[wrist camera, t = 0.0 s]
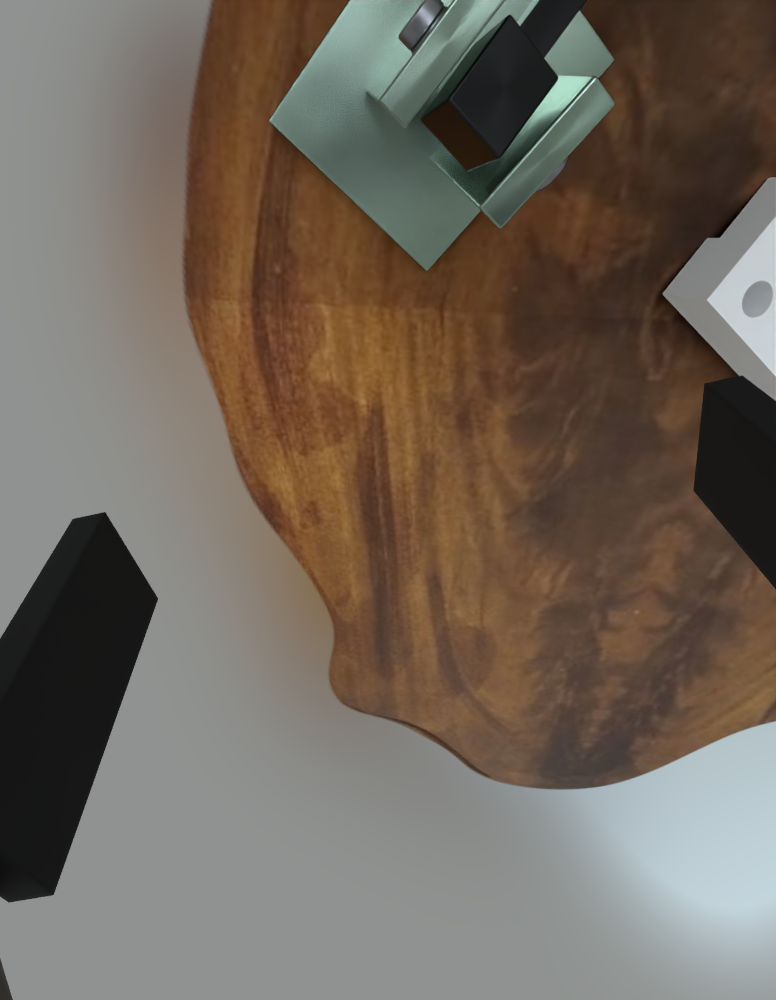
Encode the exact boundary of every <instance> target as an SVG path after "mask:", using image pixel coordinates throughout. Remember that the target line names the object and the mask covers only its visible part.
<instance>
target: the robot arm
mask: <svg viewBox="0 0 776 1000" xmlns="http://www.w3.org/2000/svg"><path fill="white" fill-rule="evenodd" d="M694 492H695V493H696V494H697V495H698V496H699V498H700V499H701V500H702V501H703V502H704V504H705V505H706V506H707V507H708V508H709V510H710V511H711V512H712V513H713V514H714V516H715V517H716V518H717V519H718V520H719V522H720V523H721V524H722V525H723V526H724V528H725V529H726V530H727V531H728V532H729V534H730V535H731V536H732V537H733V538H734V540H735V541H736V542H737V543H738V544H739V546H740V547H741V548H742V549H743V550H744V552H745V553H746V554H747V555H748V556H749V558H750V559H751V560H752V561H753V562H754V564H755V565H756V566H757V567H758V568H759V570H760V571H761V572H762V573H763V574H764V576H765V577H766V578H767V579H768V580H769V582H770V583H771V584H772V585H773V586H774V587H775V589H776V401H775V400H774V399H773V398H771V397H770V396H769V395H767V394H766V393H765V392H763V391H762V390H761V389H760V388H758V387H757V386H756V385H754V384H753V383H752V382H750V381H749V380H748V379H746V378H745V377H744V376H743V375H742V376H738V377H733V378H728V379H724V380H719V381H714V382H710V383H705V384H704V394H703V404H702V414H701V423H700V433H699V443H698V452H697V462H696V472H695V482H694ZM157 600H158V598H157V596H156V594H155V593H154V591H153V590H152V588H151V587H150V585H149V583H148V582H147V580H146V578H145V577H144V575H143V573H142V572H141V570H140V568H139V567H138V565H137V564H136V562H135V560H134V559H133V557H132V555H131V554H130V552H129V551H128V549H127V547H126V545H125V544H124V542H123V541H122V539H121V537H120V536H119V534H118V532H117V531H116V529H115V528H114V526H113V524H112V523H111V521H110V519H109V518H108V516H107V514H106V513H105V512H104V513H99V514H94V515H90V516H85V517H81V518H76V519H73V520H72V521H71V523H70V525H69V526H68V528H67V530H66V531H65V533H64V535H63V536H62V538H61V539H60V541H59V543H58V544H57V546H56V548H55V549H54V551H53V553H52V554H51V556H50V558H49V559H48V561H47V562H46V564H45V566H44V567H43V569H42V571H41V572H40V574H39V576H38V577H37V579H36V581H35V582H34V584H33V586H32V587H31V589H30V591H29V592H28V594H27V596H26V597H25V599H24V601H23V602H22V604H21V605H20V607H19V609H18V610H17V612H16V614H15V615H14V617H13V619H12V620H11V622H10V624H9V626H8V627H7V629H6V630H5V632H4V633H3V635H2V637H1V638H0V897H2V898H3V899H5V900H6V901H8V902H14V901H20V900H26V899H32V898H38V897H45V896H51V895H54V892H55V889H56V887H57V884H58V881H59V878H60V875H61V872H62V869H63V867H64V864H65V861H66V858H67V855H68V853H69V850H70V847H71V844H72V841H73V838H74V836H75V833H76V830H77V827H78V824H79V821H80V818H81V816H82V813H83V810H84V807H85V804H86V802H87V799H88V796H89V793H90V790H91V787H92V785H93V782H94V779H95V776H96V773H97V770H98V768H99V765H100V762H101V759H102V756H103V753H104V750H105V748H106V745H107V742H108V739H109V736H110V733H111V731H112V728H113V725H114V722H115V719H116V716H117V714H118V711H119V708H120V705H121V702H122V700H123V696H124V694H125V691H126V688H127V685H128V682H129V680H130V677H131V674H132V671H133V668H134V665H135V663H136V660H137V657H138V654H139V651H140V649H141V646H142V643H143V640H144V637H145V634H146V631H147V629H148V626H149V623H150V620H151V617H152V614H153V612H154V609H155V606H156V603H157ZM0 1000H13V999H12V996H11V993H10V990H9V986H8V983H7V980H6V976H5V973H4V970H3V967H2V963H1V960H0Z"/></svg>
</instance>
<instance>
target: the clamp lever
mask: <svg viewBox="0 0 776 1000" xmlns="http://www.w3.org/2000/svg"><path fill="white" fill-rule="evenodd" d="M586 1H587V0H533V1H532V2H531V3H530V5H529V6H528V8H527V9H526V10H525V12H524V13H523V15H522V16H521V17H520V19H519V20H518V21H517V22H516V21H515V19H514V18H513V17H512V16H511V15H508V16H506V17H505V18H504V19H503V20H502V21H500V22H499V23H498V24H497V25H496V26H495V27H493V28H492V29H491V30H490V31H489V32H488V33H486V34H485V35H484V36H483V37H482V38H481V39H479V40H478V41H477V42H476V43H475V44H474V45H473V46H472V47H471V49H470V50H469V52H468V53H467V54H466V56H465V57H464V58H463V60H462V61H461V63H460V64H459V65H458V67H457V68H456V70H455V71H454V72H453V74H452V75H451V76H450V78H449V79H448V81H447V82H446V83H445V85H444V86H443V88H442V89H441V90H440V92H439V93H438V94H437V96H436V97H435V99H434V100H433V101H432V103H431V104H430V106H429V107H428V108H427V110H426V111H425V113H424V114H423V115H422V117H421V121H422V123H423V124H424V125H425V126H426V127H427V128H428V129H429V130H430V131H431V132H432V134H433V135H434V136H435V137H436V138H437V139H438V140H439V141H440V142H441V143H442V144H443V146H444V147H445V148H446V149H447V150H448V151H449V152H450V153H451V154H452V155H453V156H454V158H455V159H456V160H457V161H458V162H459V163H460V164H461V165H462V166H463V167H464V168H465V170H467V171H470V170H472V169H475V168H477V167H480V166H482V165H484V164H487V163H489V162H492V161H494V160H497V159H499V158H501V156H502V155H503V154H504V152H505V151H506V150H507V148H508V147H509V146H510V144H511V143H512V142H513V140H514V139H515V138H516V136H517V135H518V134H519V132H520V131H521V129H522V128H523V127H524V125H525V124H526V123H527V121H528V120H529V119H530V117H531V116H532V115H533V113H534V112H535V111H536V109H537V108H538V107H539V105H540V104H541V103H542V101H543V100H544V98H545V97H546V96H547V94H548V93H549V92H550V90H551V89H552V88H553V86H554V85H555V84H556V82H557V81H558V76H557V74H556V73H555V72H554V70H553V69H552V68H551V66H550V65H549V64H548V62H547V61H546V60H545V59H544V58H545V56H546V55H547V54H548V52H549V51H550V50H551V48H552V47H553V46H554V44H555V43H556V42H557V40H558V39H559V37H560V36H561V35H562V33H563V32H564V31H565V29H566V28H567V27H568V25H569V24H570V22H571V21H572V20H573V18H574V17H575V16H576V14H577V13H578V12H579V10H580V9H581V8H582V6H583V5H584V3H585V2H586Z"/></svg>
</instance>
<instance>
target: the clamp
mask: <svg viewBox="0 0 776 1000" xmlns="http://www.w3.org/2000/svg"><path fill="white" fill-rule="evenodd" d="M532 1H533V0H349V1H348V2H347V4H346V5H345V7H344V8H343V10H342V11H341V13H340V14H339V16H338V17H337V19H336V20H335V22H334V23H333V25H332V26H331V27H330V29H329V30H328V32H327V33H326V35H325V36H324V38H323V39H322V41H321V42H320V44H319V45H318V47H317V48H316V50H315V51H314V53H313V54H312V56H311V57H310V59H309V60H308V62H307V63H306V65H305V66H304V68H303V69H302V71H301V72H300V74H299V75H298V77H297V78H296V80H295V81H294V83H293V84H292V86H291V87H290V89H289V90H288V92H287V93H286V95H285V96H284V98H283V99H282V101H281V102H280V104H279V105H278V107H277V108H276V110H275V111H274V113H273V114H272V116H271V117H270V119H269V122H270V123H271V124H272V125H273V126H274V127H275V128H276V129H277V130H278V131H279V132H280V133H282V134H283V135H284V136H285V137H286V138H287V139H288V140H289V141H290V142H291V143H292V144H293V145H294V146H295V147H296V148H297V149H298V150H299V151H300V152H301V153H303V154H304V155H305V156H306V157H307V158H308V159H309V160H310V161H311V162H312V163H313V164H314V165H315V166H316V167H317V168H318V169H319V170H320V171H321V172H323V173H324V174H325V175H326V176H327V177H328V178H329V179H330V180H331V181H332V182H333V183H334V184H335V185H336V186H337V187H338V188H339V189H340V190H341V191H343V192H344V193H345V194H346V195H347V196H348V197H349V198H350V199H351V200H352V201H353V202H354V203H355V204H356V205H357V206H358V207H359V208H360V209H361V210H362V211H364V212H365V213H366V214H367V215H368V216H369V217H370V218H371V219H372V220H373V221H374V222H375V223H376V224H377V225H378V226H379V227H380V228H381V229H382V230H384V231H385V232H386V233H387V234H388V235H389V236H390V237H391V238H392V239H393V240H394V241H395V242H396V243H397V244H398V245H399V246H400V247H401V248H402V249H404V250H405V251H406V252H407V253H408V254H409V255H410V256H411V257H412V258H413V259H414V260H415V261H416V262H417V263H418V264H419V265H420V266H421V267H422V268H423V269H425V270H426V271H428V270H429V269H430V268H431V266H432V265H433V264H434V263H435V262H436V261H437V260H438V259H439V257H440V256H441V255H442V254H443V253H444V252H445V251H446V250H447V248H448V247H449V246H450V245H451V244H452V243H453V242H454V241H455V239H456V238H457V237H458V236H459V235H460V234H461V233H462V232H463V230H464V229H465V228H466V227H467V226H468V225H469V224H470V223H471V221H472V220H473V219H474V218H475V217H476V216H477V215H478V214H479V212H480V211H481V212H482V213H483V214H484V215H485V216H486V217H487V218H488V219H489V220H490V221H491V222H492V223H493V224H494V225H495V226H496V227H497V228H498V229H501V228H502V227H503V226H504V225H505V224H506V223H507V222H508V221H509V220H510V219H511V218H512V217H513V215H514V214H515V213H516V212H517V211H518V210H519V209H520V208H521V207H522V206H523V205H524V203H525V202H526V201H527V200H528V199H529V198H530V197H531V196H532V195H533V194H534V193H535V192H538V191H540V190H541V189H543V188H544V187H546V186H547V185H548V184H549V183H551V182H552V181H553V180H554V179H555V178H556V176H557V175H558V174H559V173H560V172H561V170H562V169H563V167H564V166H565V164H566V162H567V157H568V156H569V155H570V153H571V152H572V151H573V150H574V149H575V148H576V147H577V146H578V145H579V144H580V143H581V141H582V140H583V139H584V138H585V137H586V136H587V135H588V134H589V133H590V132H591V131H592V129H593V128H594V127H595V126H596V125H597V124H598V123H599V122H600V121H601V120H602V119H603V118H604V116H605V115H606V114H607V113H608V112H609V111H610V110H611V109H612V108H613V107H614V105H615V101H614V99H613V98H612V96H611V95H610V94H609V92H608V91H607V90H606V88H605V87H604V86H603V84H602V83H601V81H600V80H599V78H600V76H601V75H602V74H603V73H604V72H605V71H606V70H607V69H608V67H609V66H610V65H611V64H612V63H613V62H614V60H615V59H614V57H613V56H612V54H611V53H610V51H609V50H608V49H607V47H606V46H605V44H604V43H603V41H602V40H601V39H600V37H599V36H598V34H597V33H596V32H595V30H594V29H593V27H592V26H591V24H590V23H589V22H588V20H587V19H586V17H585V16H584V14H583V13H582V12H581V10H579V12H578V13H577V14H576V16H575V17H574V18H573V20H572V21H571V22H570V24H569V25H568V27H567V28H566V29H565V31H564V32H563V33H562V35H561V36H560V37H559V39H558V40H557V42H556V43H555V44H554V46H553V47H552V48H551V50H550V51H549V52H548V54H547V55H546V56H545V58H544V59H545V60H546V61H547V62H548V64H549V65H550V66H551V68H552V69H553V70H554V72H555V73H556V74H557V76H558V81H557V82H556V84H555V85H554V86H553V88H552V89H551V90H550V92H549V93H548V94H547V96H546V97H545V98H544V100H543V101H542V103H541V104H540V105H539V107H538V108H537V109H536V111H535V112H534V113H533V115H532V116H531V117H530V119H529V120H528V121H527V123H526V124H525V125H524V127H523V128H522V129H521V131H520V132H519V134H518V135H517V136H516V138H515V139H514V140H513V142H512V143H511V144H510V146H509V147H508V148H507V150H506V151H505V152H504V154H503V155H502V156H501V158H499V159H497V160H494V161H492V162H489V163H487V164H484V165H482V166H480V167H477V168H475V169H472V170H470V171H467V170H465V168H464V167H463V166H462V165H461V164H460V163H459V162H458V161H457V160H456V159H455V158H454V156H453V155H452V154H451V153H450V152H449V151H448V150H447V149H446V148H445V147H444V146H443V144H442V143H441V142H440V141H439V140H438V139H437V138H436V137H435V136H434V135H433V134H432V132H431V131H430V130H429V129H428V128H427V127H426V126H425V125H424V124H423V123H422V121H421V117H422V115H423V114H424V113H425V111H426V110H427V108H428V107H429V106H430V104H431V103H432V101H433V100H434V99H435V97H436V96H437V94H438V93H439V92H440V90H441V89H442V88H443V86H444V85H445V83H446V82H447V81H448V79H449V78H450V76H451V75H452V74H453V72H454V71H455V70H456V68H457V67H458V65H459V64H460V63H461V61H462V60H463V58H464V57H465V56H466V54H467V53H468V52H469V50H470V49H471V47H472V46H473V45H474V44H475V43H476V42H477V41H478V40H479V39H481V38H482V37H483V36H484V35H485V34H486V33H488V32H489V31H490V30H491V29H492V28H493V27H495V26H496V25H497V24H498V23H499V22H500V21H502V20H503V19H504V18H505V17H506V16H508V15H511V16H512V17H513V18H514V19H515V21H516V22H517V21H518V20H519V19H520V17H521V16H522V15H523V13H524V12H525V10H526V9H527V8H528V6H529V5H530V3H531V2H532Z"/></svg>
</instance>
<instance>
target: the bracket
mask: <svg viewBox="0 0 776 1000" xmlns="http://www.w3.org/2000/svg"><path fill="white" fill-rule="evenodd" d="M662 294H663V296H664V297H665V298H666V299H667V300H668V301H669V302H670V303H671V304H672V305H673V306H674V307H675V308H676V309H677V310H678V311H679V313H680V314H681V315H682V316H683V317H684V318H685V319H686V320H687V321H688V322H689V323H690V324H691V325H692V326H693V327H694V328H695V330H696V331H697V332H698V333H699V334H700V335H701V336H702V337H703V338H704V339H705V340H706V341H707V342H708V343H709V344H710V345H711V347H712V348H713V349H714V350H715V351H716V352H717V353H718V354H719V355H720V356H721V357H722V358H723V359H724V360H725V361H726V362H727V364H728V365H729V366H730V367H731V368H732V369H733V370H734V371H735V372H736V373H737V374H738V375H739V376H742V375H743V376H744V377H745V378H746V379H748V380H749V381H750V382H752V383H753V384H754V385H756V386H757V387H758V388H760V389H761V390H762V391H763V392H765V393H766V394H767V395H769V396H770V397H771V398H773V399H774V400H775V401H776V177H772V178H768V179H767V180H766V181H765V183H764V184H763V185H762V186H761V188H760V189H759V190H758V191H757V193H756V194H755V195H754V196H753V197H752V199H751V200H750V201H749V202H748V204H747V205H746V206H745V207H744V209H743V210H742V211H741V212H740V214H739V215H738V216H737V217H736V218H735V220H734V221H733V222H732V223H731V225H730V226H729V227H728V228H727V230H726V231H725V232H724V233H723V234H722V236H721V237H720V238H707V239H706V240H705V241H704V242H703V244H702V245H701V246H700V247H699V249H698V250H697V251H696V252H695V254H694V255H693V256H692V257H691V259H690V260H689V261H688V262H687V264H686V265H685V266H684V267H683V269H682V270H681V271H680V272H679V273H678V275H677V276H676V277H675V278H674V280H673V281H672V282H671V283H670V285H669V286H668V287H667V288H666V290H665V291H664V292H663V293H662Z"/></svg>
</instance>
